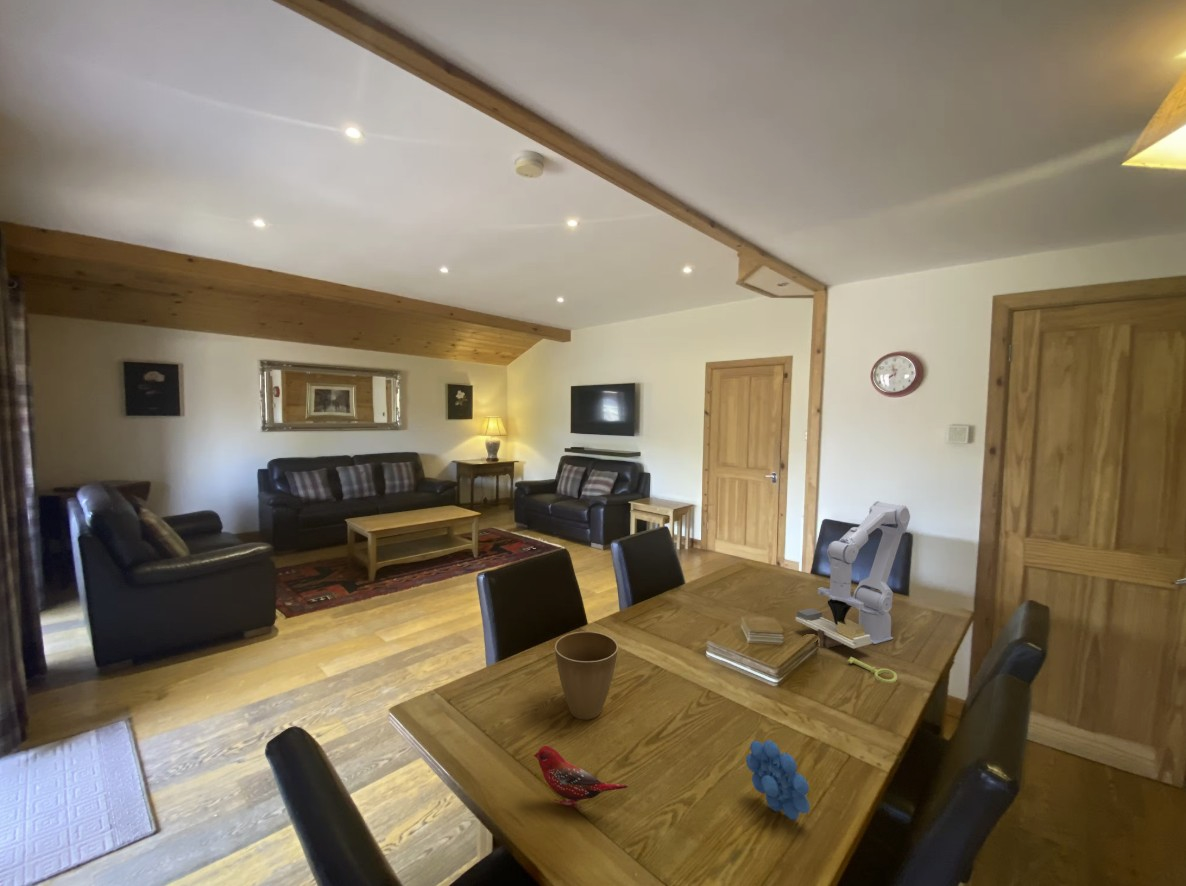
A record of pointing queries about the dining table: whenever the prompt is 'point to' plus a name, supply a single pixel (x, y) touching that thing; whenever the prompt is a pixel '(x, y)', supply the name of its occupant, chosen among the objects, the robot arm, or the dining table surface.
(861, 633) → the block
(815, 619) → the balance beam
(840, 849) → the dining table surface
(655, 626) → the dining table surface
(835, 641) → the fulcrum stand
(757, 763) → the blue flower
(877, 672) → the key
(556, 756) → the decorative bird figurine
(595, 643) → the plant pot
